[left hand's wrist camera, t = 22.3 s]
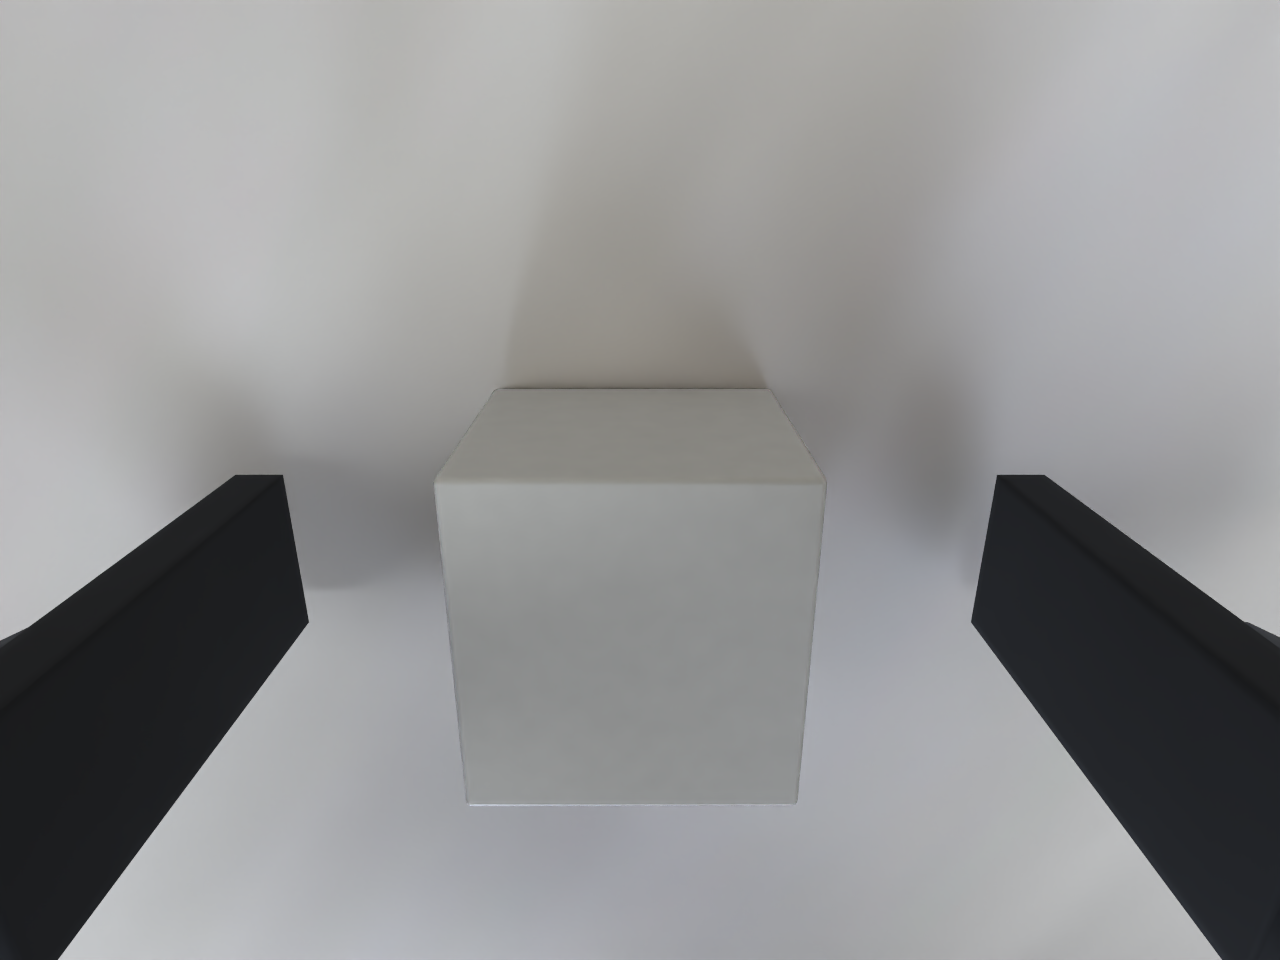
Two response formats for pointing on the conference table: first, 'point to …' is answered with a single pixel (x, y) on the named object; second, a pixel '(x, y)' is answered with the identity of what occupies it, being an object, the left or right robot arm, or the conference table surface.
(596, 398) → the block
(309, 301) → the conference table surface
